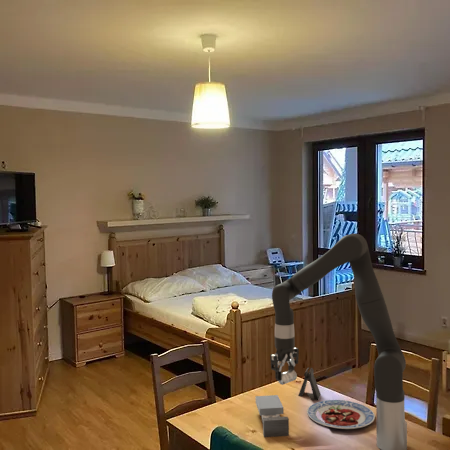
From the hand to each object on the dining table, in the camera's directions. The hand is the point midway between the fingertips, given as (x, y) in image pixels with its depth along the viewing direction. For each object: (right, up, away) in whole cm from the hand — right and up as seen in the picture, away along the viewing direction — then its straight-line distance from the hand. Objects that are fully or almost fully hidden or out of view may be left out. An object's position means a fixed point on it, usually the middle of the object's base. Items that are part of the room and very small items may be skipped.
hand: (285, 377), depth 190 cm
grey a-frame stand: (+14, -17, +26) cm, 34 cm away
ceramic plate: (+22, -18, +5) cm, 29 cm away
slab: (-6, -13, +4) cm, 15 cm away
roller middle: (-5, -17, +1) cm, 18 cm away
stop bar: (-4, -19, -10) cm, 21 cm away
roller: (0, -1, 0) cm, 1 cm away
